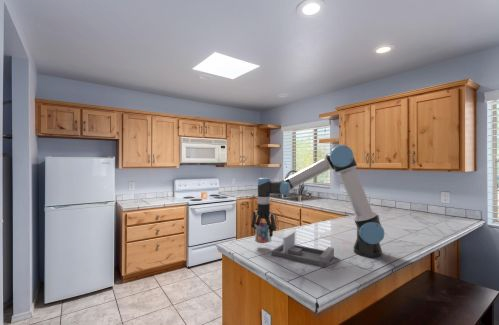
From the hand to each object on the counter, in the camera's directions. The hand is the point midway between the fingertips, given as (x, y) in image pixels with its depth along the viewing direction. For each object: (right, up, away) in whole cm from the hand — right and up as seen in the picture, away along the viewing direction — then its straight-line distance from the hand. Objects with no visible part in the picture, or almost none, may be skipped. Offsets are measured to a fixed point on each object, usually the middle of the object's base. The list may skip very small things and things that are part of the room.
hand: (263, 240), depth 155 cm
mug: (0, -1, 0) cm, 1 cm away
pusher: (+17, -4, -11) cm, 20 cm away
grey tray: (+21, -5, -13) cm, 25 cm away
